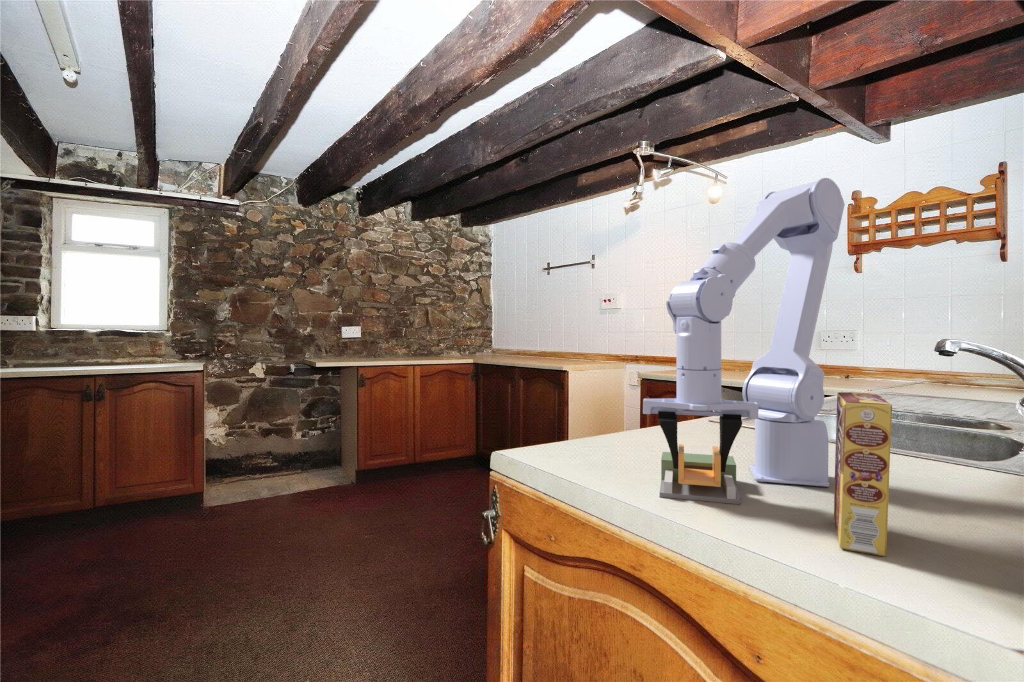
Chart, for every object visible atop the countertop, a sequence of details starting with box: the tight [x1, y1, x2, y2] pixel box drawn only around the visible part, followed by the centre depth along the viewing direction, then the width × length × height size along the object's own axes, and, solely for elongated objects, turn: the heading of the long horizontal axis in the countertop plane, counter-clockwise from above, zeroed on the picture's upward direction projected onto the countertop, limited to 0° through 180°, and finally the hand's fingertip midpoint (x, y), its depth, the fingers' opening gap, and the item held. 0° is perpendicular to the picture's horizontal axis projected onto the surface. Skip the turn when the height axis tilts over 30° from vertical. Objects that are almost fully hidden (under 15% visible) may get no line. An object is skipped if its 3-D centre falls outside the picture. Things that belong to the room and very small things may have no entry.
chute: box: [678, 443, 721, 487], centre depth 70 cm, size 5×6×4 cm
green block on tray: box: [659, 451, 742, 505], centre depth 73 cm, size 10×11×4 cm
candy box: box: [833, 391, 893, 557], centre depth 55 cm, size 9×4×15 cm, turn 152°
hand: (698, 468), depth 70 cm, fingers closed on chute, 5 cm apart
